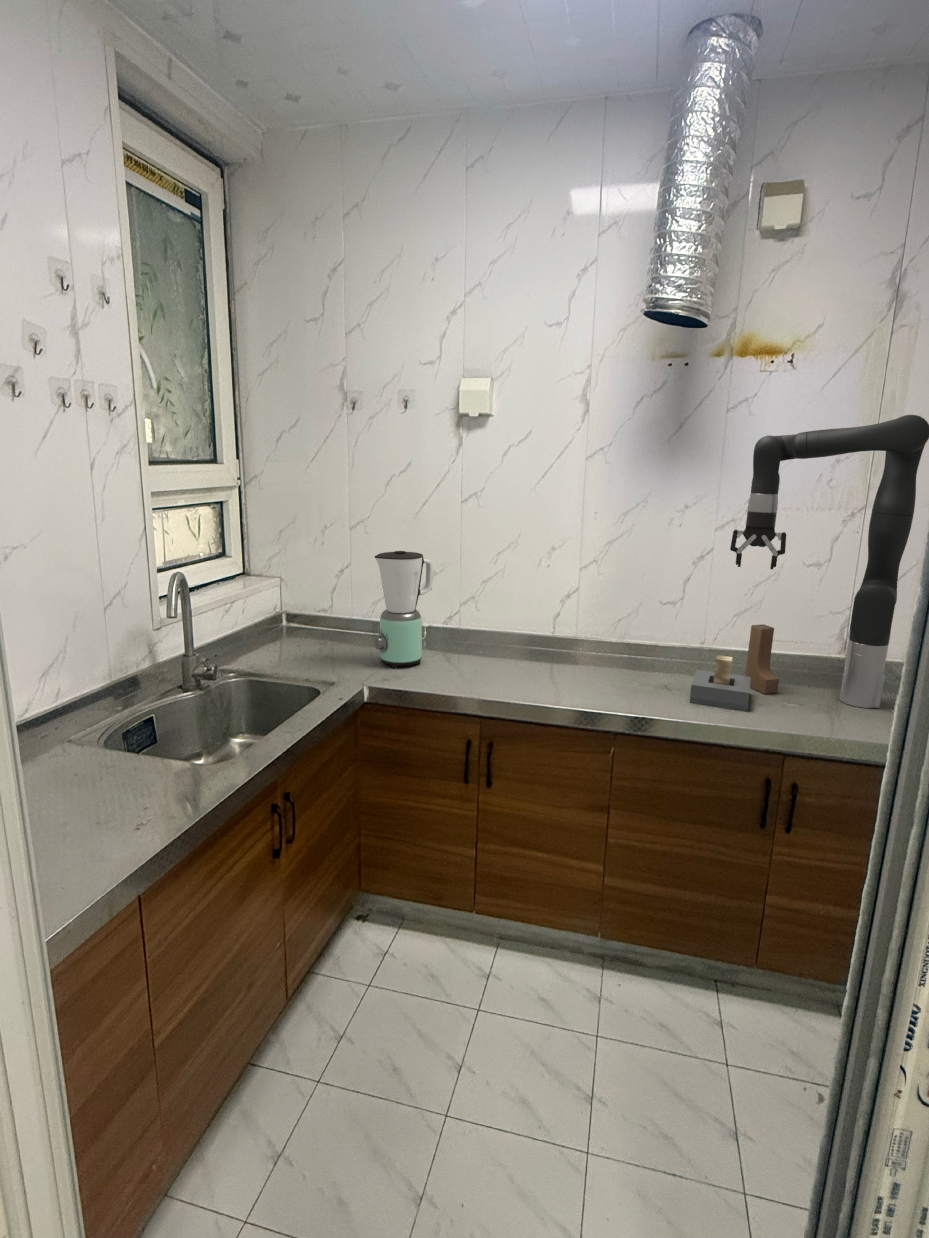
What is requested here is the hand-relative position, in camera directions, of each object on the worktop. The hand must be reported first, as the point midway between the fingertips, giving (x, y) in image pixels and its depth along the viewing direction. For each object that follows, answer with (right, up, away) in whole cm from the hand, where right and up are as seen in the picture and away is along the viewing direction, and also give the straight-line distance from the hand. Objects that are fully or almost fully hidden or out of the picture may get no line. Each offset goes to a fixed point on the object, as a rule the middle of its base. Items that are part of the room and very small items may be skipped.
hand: (755, 567), depth 193 cm
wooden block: (+3, -35, +3) cm, 35 cm away
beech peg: (-12, -35, -6) cm, 37 cm away
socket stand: (-12, -36, -6) cm, 39 cm away
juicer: (-102, -28, +21) cm, 108 cm away
